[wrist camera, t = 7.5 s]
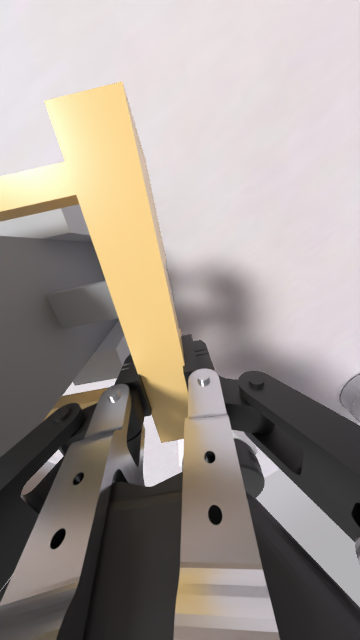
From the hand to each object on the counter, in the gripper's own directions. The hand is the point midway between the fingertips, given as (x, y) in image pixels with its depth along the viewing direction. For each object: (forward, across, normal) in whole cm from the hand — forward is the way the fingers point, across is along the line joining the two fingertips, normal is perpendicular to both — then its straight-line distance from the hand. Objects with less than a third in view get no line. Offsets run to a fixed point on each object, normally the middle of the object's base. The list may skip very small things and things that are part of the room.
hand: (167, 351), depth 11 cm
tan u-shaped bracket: (+1, +5, -3) cm, 6 cm away
